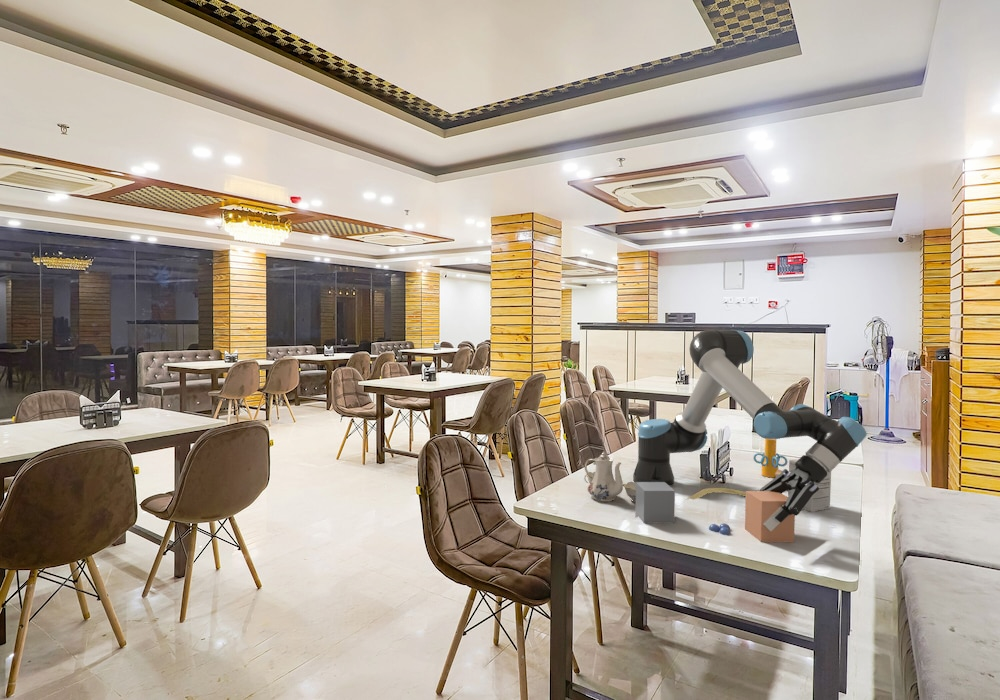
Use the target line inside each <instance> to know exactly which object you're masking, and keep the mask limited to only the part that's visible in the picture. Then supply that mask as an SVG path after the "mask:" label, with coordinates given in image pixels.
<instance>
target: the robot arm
mask: <svg viewBox="0 0 1000 700" xmlns="http://www.w3.org/2000/svg"><path fill="white" fill-rule="evenodd" d="M754 350H755V349H754V344H753V340H752V338H751V337H750V335H748V333H746V332H745V331H743V330H737V329H729V330H728V329H719V330H717V329H707V330H703V331H700V332H698V333H697V334H695V335H694V337H693V338H692V339H691V341H690V344H689V355H690V358H691V360H692V362H693V363H694V365H695V366H696V367H697V368H698V369H699V370H700V371H701V374H700V376H699V378H698V380H697V383H696V384H695V387H694V388H693V390H692V393H691V394H690V397H689V399H688V401H687V403H686V405H685V406H684V409H683V411H682V412H681V411H680V412H679V413H678V412H677V415H676V416H675V418H674V420H673V421H672V422H671V421H670V420H669V419H665V418H657V419H655V418H654V419H647V420H644V421H642V422H640V424H639V425H638V433H637V436H638V444H637V445H638V447H637V448H638V450H637V451H638V453H637V455H638V456H637V459H638V460H637V462H636V466H635V468H634V472H633V475H632V476H633V477H632V479H633V481H632V482H634V483H636V482H665V483H666V484H668V485H669V486H670V487H671V486H673V485H674V484H675V475H674V473H673V470H672V469H673V468H672V466H671V460H670V459H671V454H679V453H692V452H695V451H696V452H697V451H700V450H701V449H703V448H704V447H705V445H706V443H707V442H708V436H707V435H708V430H707V425H706V423H705V422H706V420H707V418H708V417H709V415H710V413H711V410H712V409H713V407H714V405H715V404H716V401H717V399H718V397H719V395H720V393H721V391H722V390H724V391H725V392H726V393H727V394H728V395H729V396H730V397H731V398H732V399H733V400H734V401H735V402H736V403H737V404H738V405H739V406H740V407H741V408H742V409H743V410H744V411H745V412H746V413H747V414H748V416H749V417H751V418H752V420H753V427H754V429H755V433H756V434H757V435H758V436H759V437H761V438H763V439H765V438H766V439H776V440H780V439H785V438H786V439H788V438H796V437H809V438H811V439H813V440H814V441H816V442H815V443H814V444H813V445H812V446H811V447H810V448H809V449H807V451H805V454H804V455H802V456H801V457H800V458H798V459H799V460H798V461H797V462H796V463H795V466H796V469H795V470H793V471H792V472H789V469H787V468H784V469H782V470H781V471H782V472H781V473H780V474H779V475H778V476H777V477H776V478H773V479H771V480H770V481H769V482H767V483H766V484H765V485H764V486H763V487H761V488H760V489H759V490H758V491H772V492H780V493H781V494H783V493H785V492H786V491H788V490H791V492H790V494H789V496H787V497H788V498H787V500H786V502H785V504H784V505H781V507H782V508H783V509H782V508H781V507H779V508H778V509H777V510H776V511H775V512H774V513H773V514H772V515H771V516H770V517H769V518H768V519H767V520H766V521H765V522H764V523H763V525H764V526H765V527H766V528H767V529H768V530H769V531H772V530H773V529H774V528H775V527H776V526H777V525H778V524H779V523H780V522H782V521H783V520H784V519H785V518H786V517H787V516H788V515H792V514H794V515H795V517H796V516H798V515H799V514H800V513H801V511H802V510H804V509H803V507H804V506H805V505H806V503H807V502H808V501H809V499H810V498H811V497H812V495H813V494H814V493H816V492H817V491H818V490H819V488H818V487H817V486H816V485H815V484H814V482H815V483H820V482H821V481H822V480H823V479H824V478H825V477H826V476H827V472H831V473H832V471H833V470H834V469H835V468H836V467H838V465H839V464H840V463H841V462H842V461H843V460H844V459H845V458H846V457H847V456H848V455H850V454H851V452H853V451H854V450H855V449H856V448H857V447H859V445H860V444H861V443H862V442H863V441H864V440H865V438H866V437H867V430H866V429H865V427H863V425H862V424H860V423H859V422H858V421H857V420H855V419H853V418H852V417H850V416H849V417H848V416H842V417H840V418H839V419H838V420H837V419H834V418H831V417H829V416H827V415H825V414H824V413H822V412H820V411H818V410H817V409H815V408H813V407H811V406H808V405H805V404H803V403H798V404H795V406H792V407H790V409H789V410H783V409H782V408H781V407H780V406H778V405H777V403H776V402H775V401H773V400H772V399H771V398H770V397H769V396H768V395H767V394H766V393H765V392H764V391H762V389H761V388H759V387H758V386H757V385H756V384H755V383H754V382H753V381H752V380H751V379H750V378H749V377H748V376H746V374H745V373H744V372H742V371H741V370H740V369H739V368H740V366H741V364H742V365H744V364H747V363H749V362H750V361H751V359H753V355H754ZM786 482H787V483H786Z"/></svg>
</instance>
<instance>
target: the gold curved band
mask: <svg viewBox="0 0 1000 700" xmlns="http://www.w3.org/2000/svg"><path fill="white" fill-rule="evenodd" d="M712 492H715V493H722V492H724V493H726V494H733V495H737V494H739V495H738V496H741V495H743V496H742V497H744V496H746V491H744V490H738V489H733V488H724V487H711V488H704V489H701V490H700V491H698V492H696V493H694V494H693V495H691V496H690V497H688V498H686V499H685V500H687V501H688V500H689V499H690V500H696V499H701V498H702V497H704V496H705V495H707V493H708V494H712ZM703 495H704V496H703ZM700 497H701V498H700Z"/></svg>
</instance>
